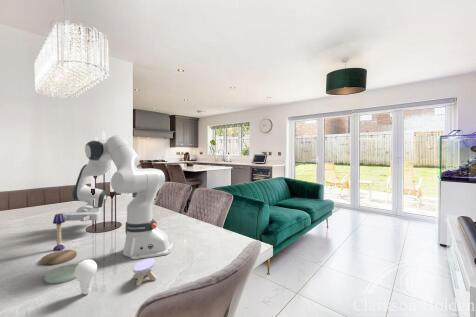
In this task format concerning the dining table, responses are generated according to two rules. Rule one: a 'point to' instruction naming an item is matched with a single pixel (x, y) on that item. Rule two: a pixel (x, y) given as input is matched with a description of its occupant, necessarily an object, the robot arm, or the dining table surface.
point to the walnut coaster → (58, 257)
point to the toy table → (144, 270)
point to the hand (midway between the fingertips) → (72, 220)
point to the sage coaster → (61, 274)
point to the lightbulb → (85, 274)
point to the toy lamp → (58, 230)
